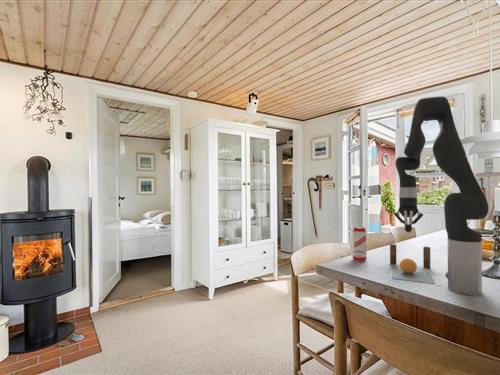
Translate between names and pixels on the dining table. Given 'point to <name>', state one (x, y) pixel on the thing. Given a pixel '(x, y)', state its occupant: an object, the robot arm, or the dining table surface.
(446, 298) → the dining table surface
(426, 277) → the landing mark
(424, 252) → the right post
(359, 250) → the beer can
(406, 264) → the ball
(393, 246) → the left post
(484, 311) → the dining table surface
